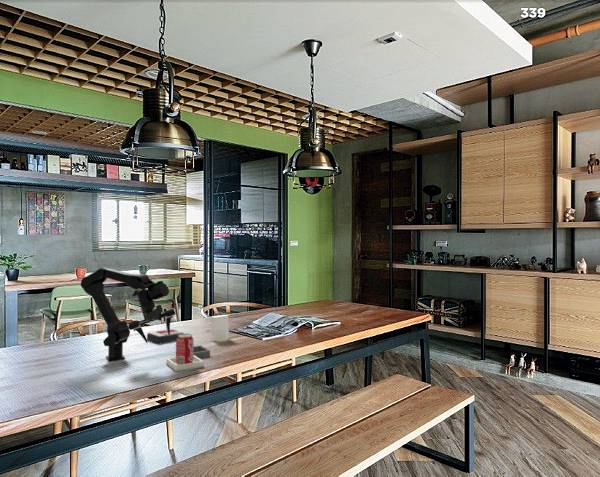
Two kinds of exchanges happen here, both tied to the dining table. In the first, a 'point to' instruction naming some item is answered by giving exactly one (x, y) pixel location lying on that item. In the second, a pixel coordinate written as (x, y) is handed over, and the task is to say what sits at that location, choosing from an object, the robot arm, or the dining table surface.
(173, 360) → the tray
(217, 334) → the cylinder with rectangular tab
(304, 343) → the dining table surface
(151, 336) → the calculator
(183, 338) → the soda can
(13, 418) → the dining table surface
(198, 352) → the dark gray square tray
